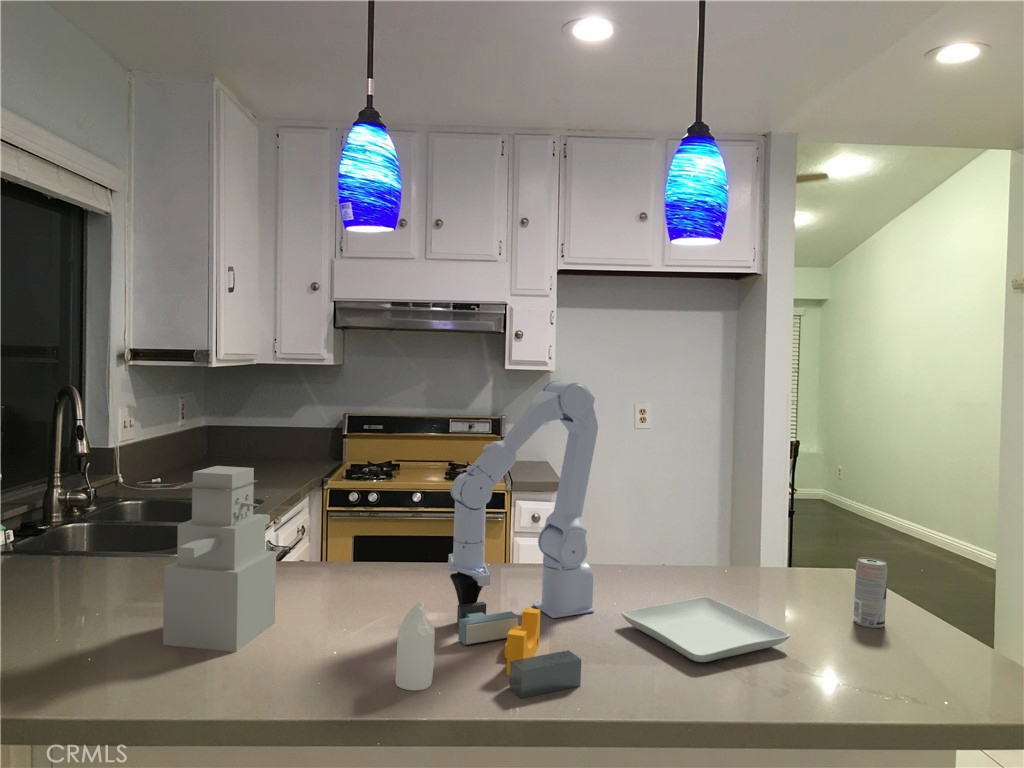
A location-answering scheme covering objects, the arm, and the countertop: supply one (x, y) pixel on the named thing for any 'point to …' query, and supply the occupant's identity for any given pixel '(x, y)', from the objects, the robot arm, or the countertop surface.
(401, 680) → the pale white bottle
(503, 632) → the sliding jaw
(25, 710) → the countertop surface
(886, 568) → the energy drink
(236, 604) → the stacked tiered boxes
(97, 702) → the countertop surface
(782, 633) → the salad plate
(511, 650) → the pipe clamp
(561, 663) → the block
